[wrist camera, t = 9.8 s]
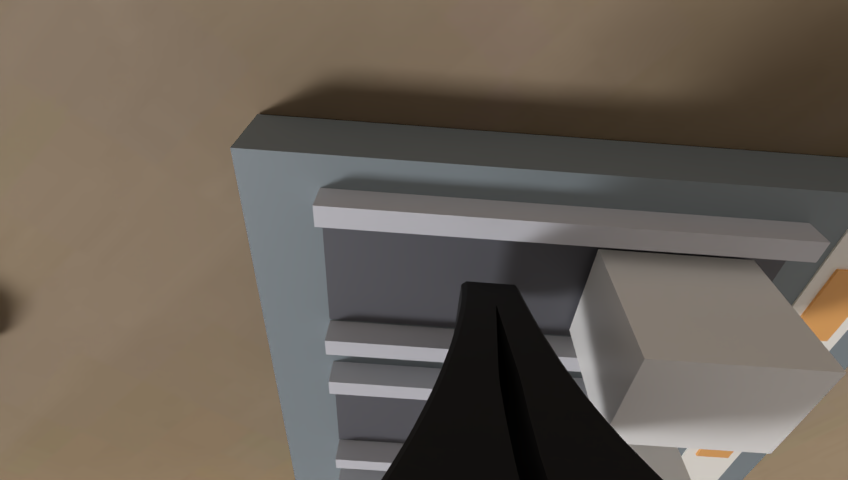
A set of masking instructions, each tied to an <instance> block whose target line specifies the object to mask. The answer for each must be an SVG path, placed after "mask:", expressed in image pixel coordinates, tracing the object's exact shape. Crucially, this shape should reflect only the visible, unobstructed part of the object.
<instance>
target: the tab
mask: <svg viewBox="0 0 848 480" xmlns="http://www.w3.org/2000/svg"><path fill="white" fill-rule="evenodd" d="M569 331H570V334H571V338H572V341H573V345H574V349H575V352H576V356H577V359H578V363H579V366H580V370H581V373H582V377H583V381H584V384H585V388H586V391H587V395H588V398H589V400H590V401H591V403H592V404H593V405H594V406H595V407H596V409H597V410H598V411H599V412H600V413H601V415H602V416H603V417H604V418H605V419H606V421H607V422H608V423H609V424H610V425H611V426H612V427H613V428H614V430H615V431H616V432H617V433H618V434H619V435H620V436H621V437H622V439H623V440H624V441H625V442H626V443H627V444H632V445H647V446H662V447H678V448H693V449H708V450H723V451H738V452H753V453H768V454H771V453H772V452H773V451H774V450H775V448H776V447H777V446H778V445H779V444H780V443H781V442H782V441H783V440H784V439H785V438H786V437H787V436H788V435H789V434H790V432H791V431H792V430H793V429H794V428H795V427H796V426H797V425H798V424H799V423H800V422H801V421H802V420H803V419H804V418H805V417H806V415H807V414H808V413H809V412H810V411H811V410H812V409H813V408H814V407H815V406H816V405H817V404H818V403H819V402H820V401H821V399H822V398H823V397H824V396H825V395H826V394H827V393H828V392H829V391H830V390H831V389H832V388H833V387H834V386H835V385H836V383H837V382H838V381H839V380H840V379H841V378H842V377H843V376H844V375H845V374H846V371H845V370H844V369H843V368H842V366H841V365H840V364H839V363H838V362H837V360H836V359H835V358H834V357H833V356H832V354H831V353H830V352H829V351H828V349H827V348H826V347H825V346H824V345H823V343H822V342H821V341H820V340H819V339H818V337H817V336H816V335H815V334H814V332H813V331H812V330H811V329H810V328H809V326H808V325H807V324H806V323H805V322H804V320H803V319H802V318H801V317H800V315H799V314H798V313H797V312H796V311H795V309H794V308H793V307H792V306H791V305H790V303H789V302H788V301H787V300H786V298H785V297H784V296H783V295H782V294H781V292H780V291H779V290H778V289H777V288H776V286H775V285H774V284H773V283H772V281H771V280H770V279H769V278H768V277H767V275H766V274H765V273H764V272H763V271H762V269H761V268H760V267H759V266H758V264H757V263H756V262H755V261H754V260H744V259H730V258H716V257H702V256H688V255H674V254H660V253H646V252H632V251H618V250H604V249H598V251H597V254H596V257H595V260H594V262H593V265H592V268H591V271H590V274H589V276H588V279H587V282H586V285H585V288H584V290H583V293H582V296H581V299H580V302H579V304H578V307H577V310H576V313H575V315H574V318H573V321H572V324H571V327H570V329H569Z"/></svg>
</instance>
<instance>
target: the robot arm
mask: <svg viewBox="0 0 848 480" xmlns="http://www.w3.org/2000/svg"><path fill="white" fill-rule="evenodd" d="M381 480H663V479H662V478H661V477H660V476H659V475H658V474H657V473H656V472H655V471H654V470H653V469H652V468H651V467H650V466H649V465H648V464H647V463H646V462H645V461H644V460H643V459H642V458H641V457H640V456H639V455H638V454H637V453H636V452H635V451H634V450H633V449H632V448H631V447H630V446H629V445H628V444H627V443H626V442H625V441H624V440H623V439H622V437H621V436H620V435H619V434H618V433H617V432H616V431H615V430H614V428H613V427H612V426H611V425H610V424H609V423H608V422H607V421H606V419H605V418H604V417H603V416H602V415H601V413H600V412H599V411H598V410H597V409H596V407H595V406H594V405H593V404H592V403H591V401H590V400H589V399H588V398H587V396H586V395H585V394H584V392H583V391H582V390H581V388H580V387H579V386H578V385H577V383H576V382H575V380H574V379H573V378H572V376H571V375H570V373H569V372H568V371H567V369H566V368H565V366H564V365H563V364H562V362H561V361H560V359H559V358H558V356H557V355H556V353H555V351H554V350H553V348H552V347H551V345H550V344H549V342H548V341H547V339H546V337H545V336H544V334H543V333H542V331H541V329H540V328H539V326H538V324H537V322H536V321H535V319H534V317H533V316H532V314H531V312H530V310H529V308H528V306H527V305H526V303H525V301H524V299H523V297H522V295H521V293H520V291H519V289H518V288H517V287H516V285H511V284H497V283H484V282H470V281H466V282H464V283H463V284H461V290H460V296H459V303H458V309H457V316H456V322H455V329H454V334H453V338H452V341H451V344H450V347H449V350H448V353H447V355H446V358H445V360H444V363H443V366H442V368H441V371H440V373H439V376H438V378H437V380H436V383H435V385H434V387H433V389H432V391H431V393H430V395H429V398H428V400H427V402H426V404H425V406H424V408H423V410H422V412H421V413H420V415H419V417H418V419H417V421H416V423H415V425H414V427H413V429H412V430H411V432H410V434H409V436H408V437H407V439H406V441H405V443H404V444H403V446H402V447H401V449H400V451H399V452H398V454H397V456H396V457H395V459H394V460H393V462H392V464H391V465H390V467H389V468H388V470H387V472H386V473H385V475H384V476H383V478H382V479H381Z"/></svg>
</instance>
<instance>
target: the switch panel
mask: <svg viewBox="0 0 848 480" xmlns="http://www.w3.org/2000/svg"><path fill="white" fill-rule="evenodd" d="M231 153H232V159H233V164H234V169H235V174H236V179H237V184H238V189H239V194H240V199H241V204H242V210H243V215H244V220H245V225H246V230H247V235H248V240H249V245H250V250H251V255H252V261H253V266H254V271H255V276H256V281H257V286H258V291H259V296H260V301H261V306H262V311H263V317H264V322H265V327H266V332H267V337H268V342H269V347H270V352H271V357H272V362H273V368H274V373H275V378H276V383H277V388H278V393H279V398H280V403H281V408H282V413H283V419H284V424H285V429H286V434H287V439H288V444H289V449H290V454H291V459H292V464H293V470H294V475H295V480H381V479H382V478H383V476H384V475H385V473H386V472H387V470H388V468H389V467H390V465H391V464H392V462H393V460H394V459H395V457H396V456H397V454H398V452H399V451H400V449H401V447H402V446H403V444H404V443H405V441H406V439H407V437H408V436H409V434H410V432H411V430H412V429H413V427H414V425H415V423H416V421H417V419H418V417H419V415H420V413H421V412H422V410H423V408H424V406H425V404H426V402H427V400H428V398H429V395H430V393H431V391H432V389H433V387H434V385H435V383H436V380H437V378H438V376H439V373H440V371H441V368H442V366H443V363H444V360H445V358H446V355H447V353H448V350H449V347H450V344H451V341H452V338H453V334H454V329H455V322H456V316H457V309H458V303H459V296H460V290H461V284H463V283H464V282H466V281H470V282H484V283H497V284H511V285H516V287H517V288H518V289H519V291H520V293H521V295H522V297H523V299H524V301H525V303H526V305H527V306H528V308H529V310H530V312H531V314H532V316H533V317H534V319H535V321H536V322H537V324H538V326H539V328H540V329H541V331H542V333H543V334H544V336H545V337H546V339H547V341H548V342H549V344H550V345H551V347H552V348H553V350H554V351H555V353H556V355H557V356H558V358H559V359H560V361H561V362H562V364H563V365H564V366H565V368H566V369H567V371H568V372H569V373H570V375H571V376H572V378H573V379H574V380H575V382H576V383H577V385H578V386H579V387H580V388H581V390H582V391H583V392H584V394H585V395H586V396H587V398H588V395H587V391H586V388H585V384H584V381H583V377H582V373H581V370H580V366H579V363H578V359H577V356H576V352H575V349H574V345H573V341H572V338H571V334H570V331H569V329H570V327H571V324H572V321H573V318H574V315H575V313H576V310H577V307H578V304H579V302H580V299H581V296H582V293H583V290H584V288H585V285H586V282H587V279H588V276H589V274H590V271H591V268H592V265H593V262H594V260H595V257H596V254H597V251H598V249H604V250H618V251H632V252H646V253H660V254H674V255H688V256H702V257H716V258H730V259H744V260H754V261H755V262H756V263H757V264H758V266H759V267H760V268H761V269H762V271H763V272H764V273H765V274H766V275H767V277H768V278H769V279H770V280H771V281H772V283H773V284H774V285H775V286H776V288H777V289H778V290H779V291H780V292H781V294H782V295H783V296H784V297H785V298H786V300H787V301H788V302H789V303H790V305H791V306H792V307H793V308H794V309H795V311H796V312H797V313H798V314H799V315H800V317H801V318H802V319H803V320H804V322H805V323H806V324H807V325H808V326H809V328H810V329H811V330H812V331H813V332H814V334H815V335H816V336H817V337H818V339H819V340H820V341H821V342H822V343H823V345H824V346H825V347H826V348H827V349H828V351H829V352H830V353H831V354H832V356H833V357H834V358H835V359H836V360H837V362H838V363H839V364H840V365H841V366H842V368H843V369H844V370H845V369H846V368H847V367H848V158H845V157H831V156H818V155H804V154H791V153H777V152H764V151H750V150H736V149H723V148H709V147H696V146H682V145H669V144H655V143H642V142H628V141H614V140H601V139H587V138H574V137H560V136H547V135H533V134H520V133H506V132H492V131H479V130H465V129H452V128H438V127H425V126H411V125H398V124H384V123H370V122H357V121H343V120H330V119H316V118H303V117H289V116H276V115H262V114H257V115H256V117H255V118H254V119H253V120H252V122H251V123H250V124H249V125H248V127H247V128H246V129H245V130H244V131H243V133H242V134H241V135H240V136H239V138H238V139H237V140H236V141H235V143H234V144H233V145H232V146H231ZM588 399H589V398H588ZM678 450H679V452H680V454H681V457H682V459H683V462H684V464H685V467H686V469H687V471H688V474H689V476H690V479H691V480H743V479H744V477H745V476H746V475H747V474H748V473H749V472H750V471H751V470H752V469H753V468H754V467H755V466H756V465H757V463H758V462H759V461H760V460H761V459H762V458H763V457H764V456H765V455H766V454H767V453H753V452H738V451H723V450H708V449H693V448H678Z"/></svg>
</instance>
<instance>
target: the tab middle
mask: <svg viewBox="0 0 848 480" xmlns="http://www.w3.org/2000/svg"><path fill="white" fill-rule="evenodd" d="M628 445H629V446H630V447H631V448H632V449H633V450H634V451H635V452H636V453H637V454H638V455H639V456H640V457H641V458H642V459H643V460H644V461H645V462H646V463H647V464H648V465H649V466H650V467H651V468H652V469H653V470H654V471H655V472H656V473H657V474H658V475H659V476H660V477H661V478H662V479H663V480H691V479H690V476H689V474H688V471H687V469H686V467H685V464H684V462H683V459H682V457H681V454H680V452H679V450H678V447H662V446H647V445H632V444H628Z"/></svg>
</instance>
